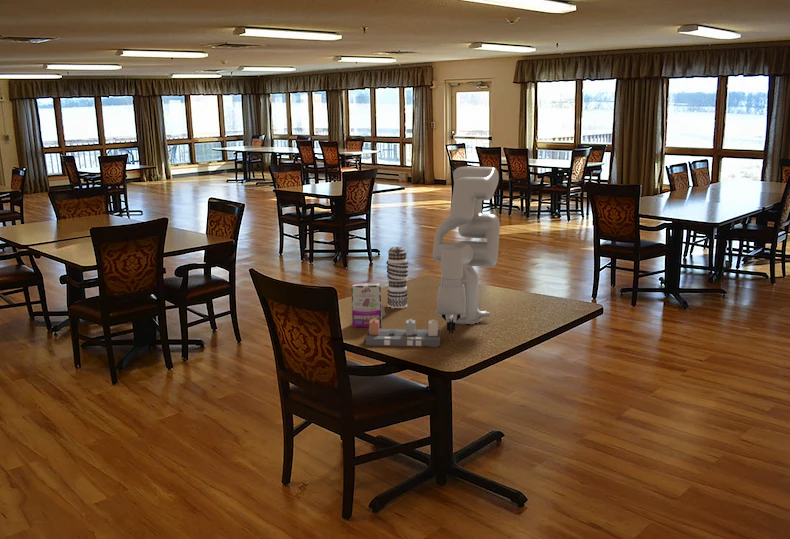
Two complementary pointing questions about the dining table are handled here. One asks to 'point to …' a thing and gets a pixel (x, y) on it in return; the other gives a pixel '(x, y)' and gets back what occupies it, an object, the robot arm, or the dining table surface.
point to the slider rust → (374, 327)
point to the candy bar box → (366, 303)
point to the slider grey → (410, 327)
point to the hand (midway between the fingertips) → (450, 332)
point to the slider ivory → (433, 328)
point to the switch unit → (402, 338)
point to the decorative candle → (397, 277)
